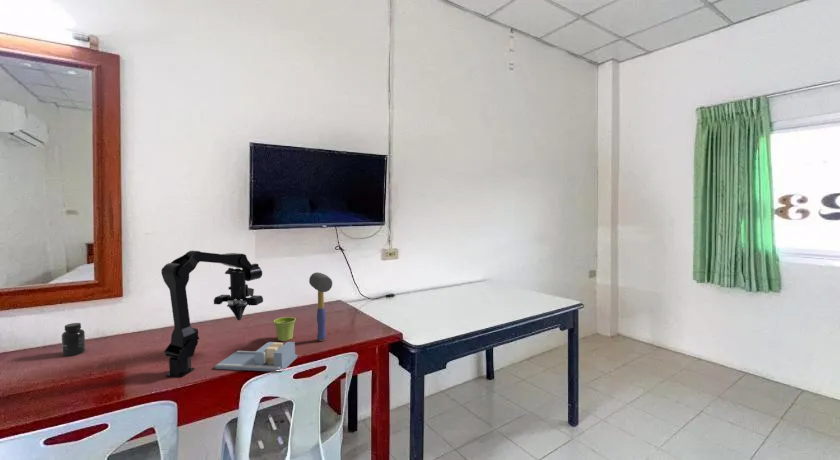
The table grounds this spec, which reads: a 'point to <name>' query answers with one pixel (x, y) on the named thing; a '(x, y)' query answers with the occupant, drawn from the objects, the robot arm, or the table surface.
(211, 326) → the table surface
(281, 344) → the block
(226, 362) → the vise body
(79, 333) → the supplement bottle
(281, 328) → the plant pot
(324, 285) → the rubber mallet
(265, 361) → the block
